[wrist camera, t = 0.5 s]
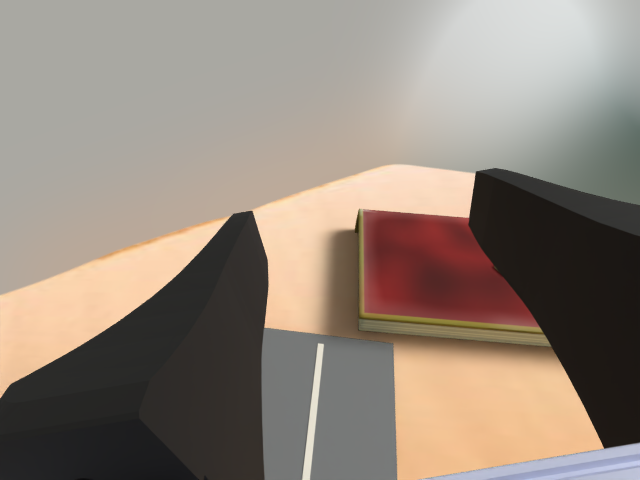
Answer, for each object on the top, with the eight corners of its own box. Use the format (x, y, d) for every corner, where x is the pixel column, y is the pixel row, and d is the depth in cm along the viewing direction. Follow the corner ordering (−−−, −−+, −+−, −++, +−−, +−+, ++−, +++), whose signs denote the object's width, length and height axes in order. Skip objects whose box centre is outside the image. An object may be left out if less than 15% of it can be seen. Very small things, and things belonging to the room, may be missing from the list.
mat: (397, 533, 20) (399, 534, 20) (207, 506, 21) (205, 507, 21) (392, 345, 28) (393, 343, 28) (252, 328, 28) (251, 325, 28)
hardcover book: (354, 231, 36) (359, 204, 33) (546, 246, 36) (571, 221, 33) (353, 336, 29) (359, 315, 25) (595, 357, 28) (634, 338, 25)
